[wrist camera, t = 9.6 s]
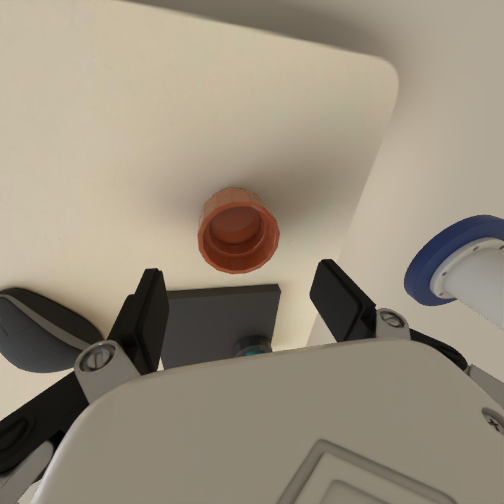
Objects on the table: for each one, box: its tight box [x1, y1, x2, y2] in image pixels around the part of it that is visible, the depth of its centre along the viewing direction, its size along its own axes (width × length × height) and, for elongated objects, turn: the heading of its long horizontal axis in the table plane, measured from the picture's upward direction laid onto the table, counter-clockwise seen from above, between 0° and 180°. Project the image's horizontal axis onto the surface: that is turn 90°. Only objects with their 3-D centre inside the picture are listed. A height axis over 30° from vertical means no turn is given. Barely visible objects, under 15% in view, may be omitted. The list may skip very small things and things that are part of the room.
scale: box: [160, 284, 281, 370], centre depth 27 cm, size 16×14×3 cm
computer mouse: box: [0, 289, 103, 373], centre depth 21 cm, size 7×12×4 cm, turn 23°
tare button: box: [245, 350, 262, 356], centre depth 28 cm, size 3×3×2 cm
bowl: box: [198, 188, 280, 274], centre depth 18 cm, size 7×7×5 cm
